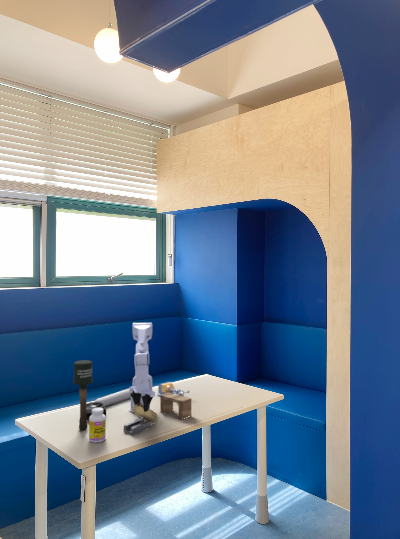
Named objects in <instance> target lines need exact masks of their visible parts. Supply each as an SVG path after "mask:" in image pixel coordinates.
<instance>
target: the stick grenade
mask: <svg viewBox="0 0 400 539" xmlns="http://www.w3.org/2000/svg"><path fill="white" fill-rule="evenodd" d="M92 383H94V379H93V361H91V360H88V359H85V360H84V359H82V360H76V361H75V362H73V381H72V384H73V385H78V386H79V387H78V388H79V390H78V392H79V393H78V394H79V414H80V415H79V423H78V424H79V425H78V429H79V431H82V432H83V431H87V430H88V428H89V425H88V420H87V417H86V404H87V397H88V385H90V384H92Z"/></svg>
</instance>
